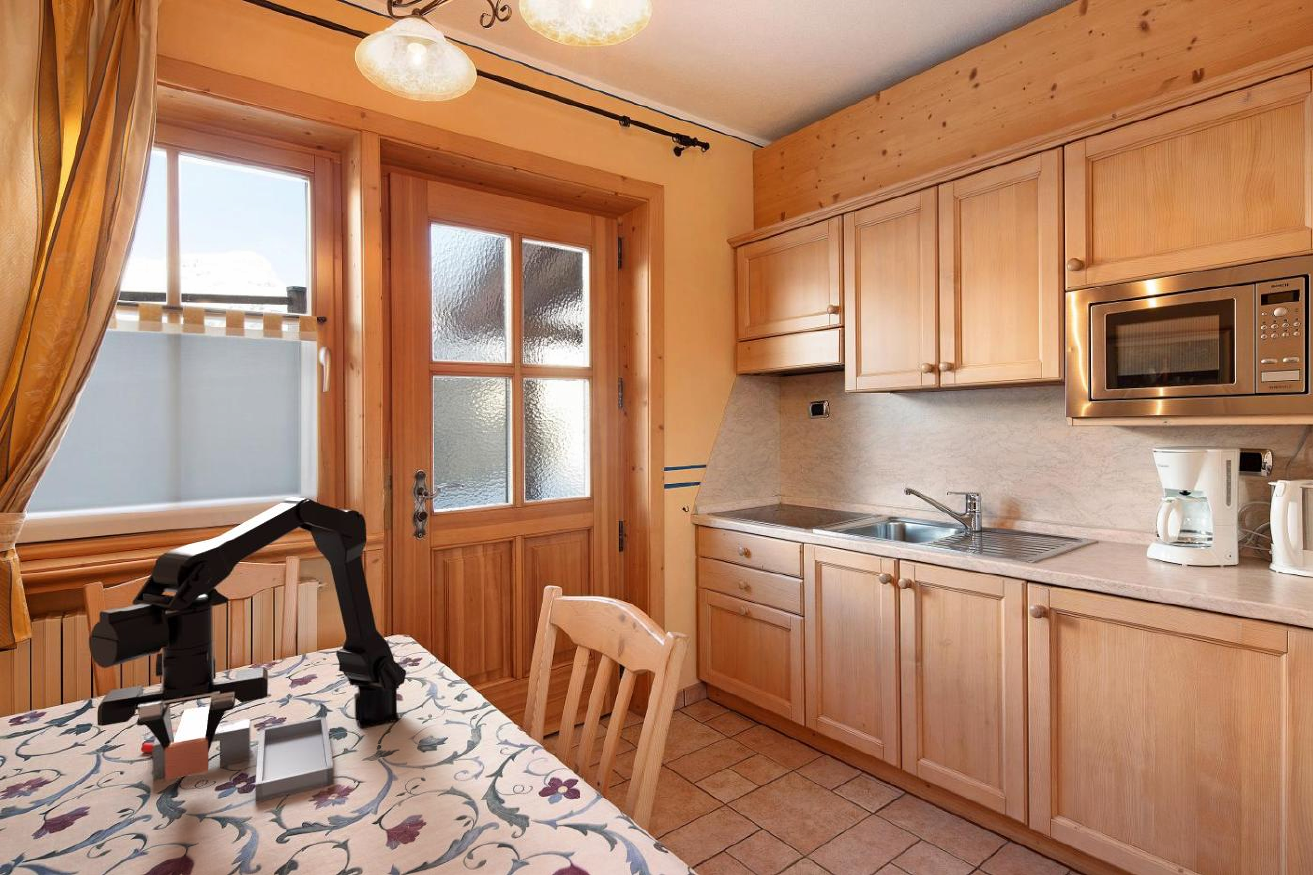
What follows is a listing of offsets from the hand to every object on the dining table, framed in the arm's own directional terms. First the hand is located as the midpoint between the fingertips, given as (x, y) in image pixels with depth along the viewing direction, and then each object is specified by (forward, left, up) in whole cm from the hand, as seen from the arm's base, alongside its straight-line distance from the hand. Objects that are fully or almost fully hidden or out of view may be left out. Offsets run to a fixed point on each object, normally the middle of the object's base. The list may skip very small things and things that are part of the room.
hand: (189, 756), depth 93 cm
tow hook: (+4, -27, -9) cm, 28 cm away
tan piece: (0, -4, -1) cm, 4 cm away
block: (0, -16, -8) cm, 18 cm away
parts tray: (-13, -10, -8) cm, 18 cm away
